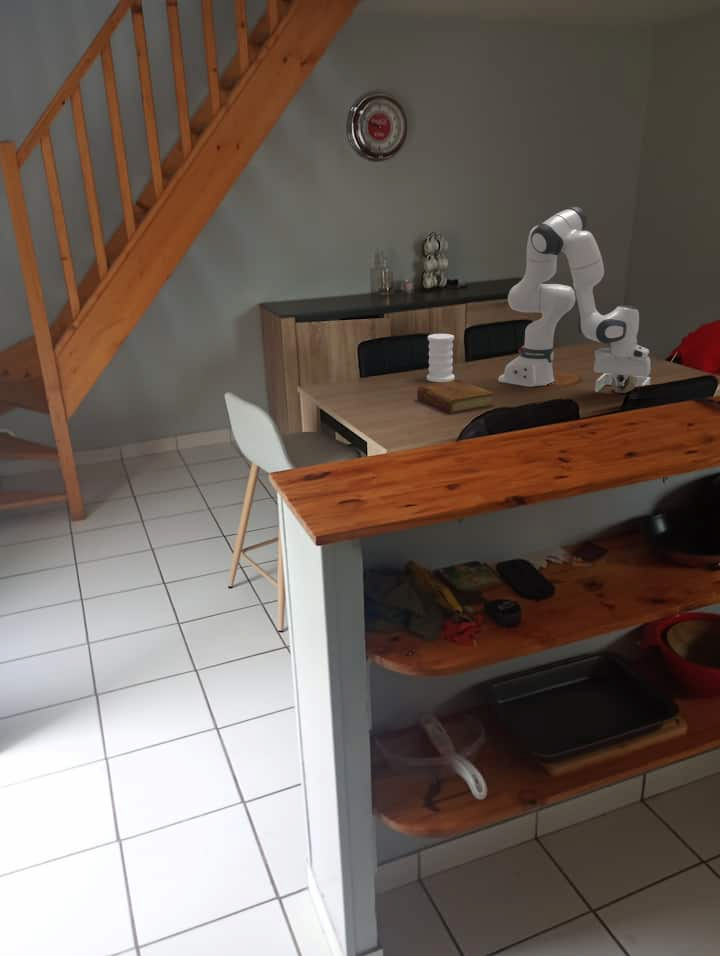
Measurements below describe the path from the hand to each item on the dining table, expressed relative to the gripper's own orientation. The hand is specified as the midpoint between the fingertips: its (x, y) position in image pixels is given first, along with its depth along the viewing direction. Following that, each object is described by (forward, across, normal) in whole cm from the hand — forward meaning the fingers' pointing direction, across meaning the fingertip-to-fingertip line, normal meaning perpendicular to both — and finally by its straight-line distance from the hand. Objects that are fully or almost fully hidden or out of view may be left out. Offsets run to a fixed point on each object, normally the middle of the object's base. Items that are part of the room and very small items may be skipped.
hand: (619, 385), depth 282 cm
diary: (+4, -52, -37) cm, 64 cm away
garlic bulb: (+3, +1, +4) cm, 5 cm away
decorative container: (+3, -72, -6) cm, 72 cm away
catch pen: (+3, 0, +5) cm, 6 cm away
